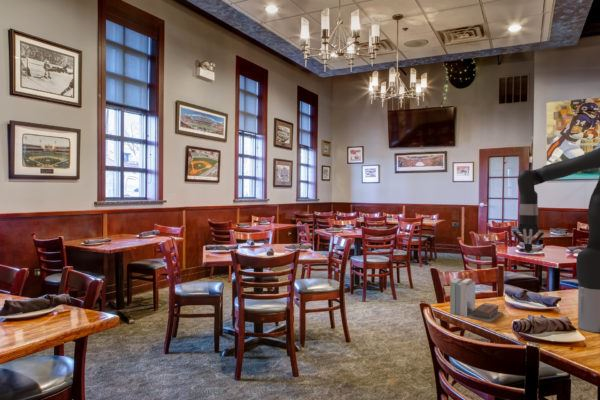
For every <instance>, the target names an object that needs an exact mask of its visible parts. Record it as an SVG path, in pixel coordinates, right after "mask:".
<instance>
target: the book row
mask: <svg viewBox="0 0 600 400" xmlns="http://www.w3.org/2000/svg"><path fill="white" fill-rule="evenodd" d="M471 282H473V279H472V278H465V279H464V280H462V278H455V279H454V280H452V281H450V282H449V283H450V284H449V285H450V286H449V300H450V301H449V313H450V314H451V313H452V314H451V315H453V314H459V315H464V316H463V317H465V286H466V285H468V284H470V283H471ZM459 315H458V316H459Z"/></svg>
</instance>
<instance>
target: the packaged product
mask: <svg viewBox="0 0 600 400" xmlns="http://www.w3.org/2000/svg"><path fill="white" fill-rule="evenodd" d="M498 310H499V305H497V303H496V304H495V303H490V302H484V303H482V304H480V305H479V306H477V307H475V309H474V310H473V313H471V314H469V315H468V317H467V318H468V319H473V320H478V321H482V322H483V321H484V322H489V323H492V322H493V321H494V320H496V319H497V318H499V316H501V315H503V312H502V311H498Z"/></svg>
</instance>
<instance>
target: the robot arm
mask: <svg viewBox="0 0 600 400" xmlns="http://www.w3.org/2000/svg"><path fill="white" fill-rule="evenodd" d="M592 169H600V147H597V148H596V149H593V150H591V151H589V152H587V153H586V152H585V153H584V154H581V155H578V156H575V157H572V158H568V159H564V160H561V161H560V160H559V161H556V162H553V163H548V164H546V165H543V166H542V167H540V168H536V169H523V170H522V171H520V172H519V174H518V176H517V186H518V192H519V211H518V226H517V228H516V229H515V230H513V231H512V234H513V235H514V236H515V237H516V238H517V240H518V241H519V242H520V243H522V244H524V251H525V253H531V252H532V251H533V244H535V243H537V242H538V241H539V240H540V239H541V238H542V237H543V236H544V235H545V232H544V231H541V230H540V227H539V206H538V195H539V194H538V193H537V191H536V190H535V186H537V185H540V184H543V183H547V182H550V181H554V180H558V179H561V178H566V177H569V176H572V175H574V174H577V173H579V172H582V171H588V170H592ZM587 225H588V239H587V244H586V248H584V249H582V250H580V251H578V253H577V257H576V278H577V279H576V280H577V282H578V289H577V290H578V292H577V293H578V295H577V299H578V301H577V303H578V304H577V328H578V329H580V330H582V331H586V332H591V333H600V174H599V177H598V180H597V183H596V185H595V187H594V189H593V191H592V193H591V196H590V199H589V202H588V208H587ZM520 234H521V235H522V236H523V237H522V236H521V235H520ZM536 234H537V237H535V235H536ZM534 237H535V238H534Z"/></svg>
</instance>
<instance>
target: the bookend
mask: <svg viewBox="0 0 600 400" xmlns="http://www.w3.org/2000/svg"><path fill="white" fill-rule="evenodd" d="M475 308H476V281H475V280H472V282H471V283H470V284H468V285H466V286H465V316H464V315H459V314H452V313H450V315H454V316H461V317H464V318H468V315H469V314H471V313H473V310H474V309H475Z"/></svg>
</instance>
